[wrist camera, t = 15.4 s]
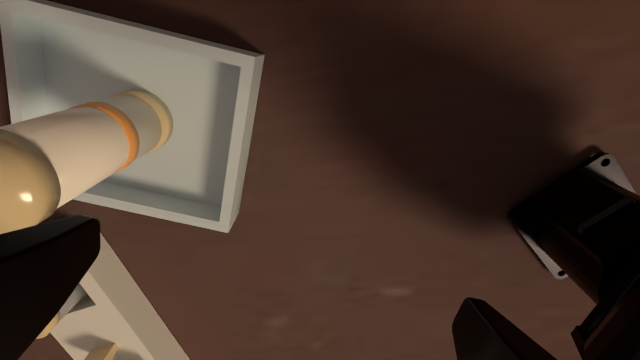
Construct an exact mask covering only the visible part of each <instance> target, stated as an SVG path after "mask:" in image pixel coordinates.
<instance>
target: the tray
mask: <svg viewBox="0 0 640 360" xmlns="http://www.w3.org/2000/svg"><path fill="white" fill-rule="evenodd" d="M0 27H1V36H2V45H3V54H4V63H5V72H6V81H7V89H8V98H9V107H10V116H11V124H14V123H17V122H21V121H25V120H29V119H32V118H36V117H40V116H44V115H47V114H51V113H55V112H59V111H63V110H66V109H69V108H71V107H73V106H77V105H80V104H84V103H88V102H96V101H100V100H104V99H108V98H109V97H111V96H113V95H115V94H119V93H122V92H126V91H130V90H144V91H147V92H150V93H152V94H154V95H156V96H157V97H158V98H160V99H161V100H162V101H163V102H164V103H165V104H166V106H167V107H168V109H169V111H170V113H171V116H172V119H173V131H172V134H171V137H170V139H169V140H168V141H167V142H166V143H165V144H164V145H162V146H161V147H159V148H158V149H156V150H155V151H153V152H151V153H149V154H146V155H143V156H141V157H140V158H138V159H136V160H135V161H133V162H132V163H131V164H130V165H129V166H127V167H125V168H124V169H122V170H121V171H119V172H117V173H115V174H112V175H110V176H109V177H107V178H106V179H104V180H102V181H101V182H99V183H97V184H96V185H94V186H93V187H91V188H89V189H88V190H86V191H85V192H83V193H81V194H80V195H78V196H76V197H75V198H73V199H74V200H79V201H83V202H88V203H92V204H97V205H102V206H106V207H111V208H115V209H120V210H125V211H129V212H134V213H138V214H143V215H148V216H152V217H157V218H161V219H166V220H171V221H175V222H180V223H184V224H189V225H194V226H198V227H203V228H207V229H212V230H217V231H221V232H226V233H228V232H229V230H230V229H231V227H232V225H233V223H234V221H235V219H236V217H237V215H238V213H239V208H240V202H241V196H242V190H243V184H244V178H245V172H246V166H247V160H248V153H249V147H250V141H251V135H252V129H253V123H254V117H255V111H256V105H257V98H258V92H259V86H260V80H261V74H262V68H263V62H264V56H265V55H263V54H259V53H255V52H251V51H247V50H243V49H239V48H235V47H231V46H227V45H223V44H219V43H215V42H211V41H207V40H203V39H199V38H195V37H191V36H187V35H183V34H179V33H175V32H171V31H167V30H163V29H159V28H155V27H151V26H147V25H143V24H139V23H135V22H131V21H127V20H123V19H119V18H115V17H111V16H107V15H103V14H99V13H95V12H91V11H87V10H83V9H79V8H75V7H71V6H67V5H63V4H59V3H55V2H51V1H47V0H0Z"/></svg>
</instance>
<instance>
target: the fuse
mask: <svg viewBox="0 0 640 360" xmlns="http://www.w3.org/2000/svg"><path fill="white" fill-rule="evenodd" d="M86 294H87V292H86V291H85V290H84V288H83V287H82V286H81V285H80V283H79V284H78V285H77V287H76V288H75V290H74V291H73V292H72V294H71V295H70V297H69V298H68V300H67V301H66V302H65V304H64V305H63V306H62V308H61V309H60V310H59V312H58V313H57V314H56V316H55V317H54V318H53V319H52V320H51V322H50V323H49V324H48V325H47V326H46V327H45V329H44V330H43V331H42V332H41V333H40V334H39V336H38V337H37V338H36V339H39V338H43V337H45V336H46V335H48V333H49V332H50V331H51V330H52V329H53V328H54V327H55V326H56V325H57V324H58V323H59V322H60V320H61V319H62V318H63V317H64V316H65V315H66V314H67V313H68V312H69V311H70V310H71V309H72V308H73V307H74V306H75V305H76V304H77V303H78V302H79V301H80V300H81V299H82V298H83V297H84V296H85V295H86Z"/></svg>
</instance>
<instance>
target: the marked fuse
mask: <svg viewBox="0 0 640 360" xmlns="http://www.w3.org/2000/svg"><path fill="white" fill-rule="evenodd" d="M172 131H173V119H172V116H171V113H170V111H169V109H168V107H167V106H166V104H165V103H164V102H163V101H162V100H161V99H160V98H158V97H157V96H156V95H154V94H152V93H150V92H147V91H144V90H130V91H126V92H122V93H119V94H115V95H113V96H111V97H109V98H108V99H104V100H100V101H96V102H88V103H84V104H80V105H77V106H73V107H71V108H69V109H66V110H63V111H59V112H55V113H51V114H47V115H44V116H40V117H36V118H32V119H29V120H25V121H21V122H17V123H14V124H10V125H6V126H2V127H0V234H3V233H7V232H11V231H15V230H19V229H23V228H27V227H31V226H35V225H37V224H39V223H40V222H42V221H43V220H45V219H47V218H48V217H49V216H51V215H52V214H53V213H54V212H55V210H56V209H57V208H59V207H60V206H62V205H63V204H65V203H67V202H68V201H70V200H72V199H73V198H75V197H76V196H78V195H80V194H81V193H83V192H85V191H86V190H88V189H89V188H91V187H93V186H94V185H96V184H97V183H99V182H101V181H102V180H104V179H106V178H107V177H109V176H110V175H112V174H115V173H117V172H119V171H121V170H122V169H124V168H125V167H127V166H129V165H130V164H131V163H132V162H133V161H135V160H136V159H138V158H140V157H141V156H143V155H146V154H149V153H151V152H153V151H155V150H156V149H158V148H159V147H161V146H162V145H164V144H165V143H166V142H167V141H168V140H169V139H170V137H171V134H172Z"/></svg>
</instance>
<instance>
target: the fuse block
mask: <svg viewBox="0 0 640 360" xmlns="http://www.w3.org/2000/svg"><path fill="white" fill-rule="evenodd" d="M100 244H101V247H100V252H99V255H98V257H97V258H96V260H95V261H94V263H93V264H92V266H91V267H90V268H89V270H88V271H87V273H86V274H85V275H84V277H83V278H82V280H81V281H80V285H81V286H82V287H83V288H84V290H85V291H86V292H87V294H86V295H85V296H84V297H83V298H82V299H81V300H80V301H79V302H78V303H77V304H76V305H75V306H74V307H73V308H72V309H71V310H70V311H69V312H68V313H67V314H66V315H65V316H64V317H63V318H62V319H61V320H60V322H59V323H58V324H57V325H56V326H55V327H54V328H53V329H52V330H51V331H50V333H51V334H52V335H53V336H54V337H55V338H56V340H57V341H58V342H59V343H60V344H61V345H62V347H63V348H64V349H65V350H66V351H67V352H68V353H69V355H70V356H71V357H72V358H73V359H74V360H190V359H189V358H188V356H187V355H186V354H185V352H184V351H183V349H182V348H181V347H180V345H179V344H178V342H177V341H176V339H175V338H174V337H173V335H172V334H171V332H170V331H169V329H168V328H167V327H166V325H165V324H164V322H163V321H162V319H161V318H160V317H159V315H158V314H157V312H156V311H155V309H154V308H153V307H152V305H151V304H150V302H149V301H148V300H147V298H146V297H145V295H144V294H143V292H142V291H141V290H140V288H139V287H138V285H137V284H136V282H135V281H134V280H133V278H132V277H131V275H130V274H129V272H128V271H127V270H126V268H125V267H124V265H123V264H122V263H121V261H120V260H119V258H118V257H117V255H116V254H115V253H114V251H113V250H112V248H111V247H110V245H109V244H108V243H107V241H106V240H105V238H104V237H103V235H102V234H101V233H100Z"/></svg>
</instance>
